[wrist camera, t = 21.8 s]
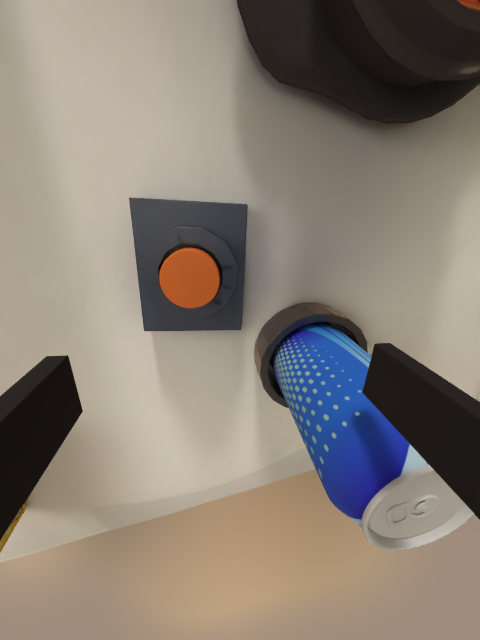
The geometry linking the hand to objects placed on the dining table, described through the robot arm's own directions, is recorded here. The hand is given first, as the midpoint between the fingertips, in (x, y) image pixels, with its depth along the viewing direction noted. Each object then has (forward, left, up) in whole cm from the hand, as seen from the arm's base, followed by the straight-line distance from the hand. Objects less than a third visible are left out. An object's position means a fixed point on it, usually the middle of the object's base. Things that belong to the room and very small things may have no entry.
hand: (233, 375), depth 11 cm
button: (-2, -2, -11) cm, 11 cm away
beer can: (+7, +10, -14) cm, 18 cm away
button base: (-2, -2, -15) cm, 15 cm away
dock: (+7, +10, -15) cm, 19 cm away
